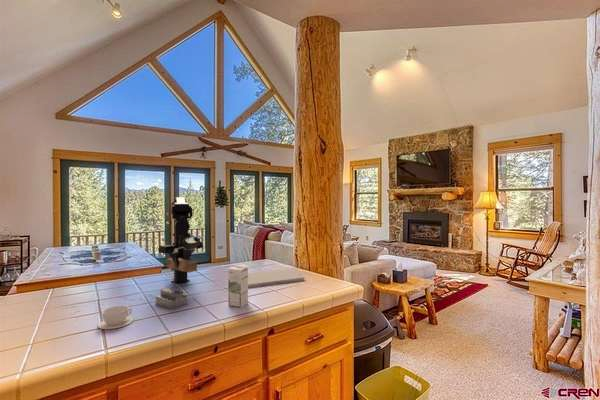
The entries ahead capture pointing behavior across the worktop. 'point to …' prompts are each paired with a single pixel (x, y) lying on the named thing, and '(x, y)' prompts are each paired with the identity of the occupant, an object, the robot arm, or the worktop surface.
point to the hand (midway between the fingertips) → (181, 266)
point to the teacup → (115, 317)
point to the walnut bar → (183, 265)
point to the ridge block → (171, 298)
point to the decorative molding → (274, 277)
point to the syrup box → (238, 286)
